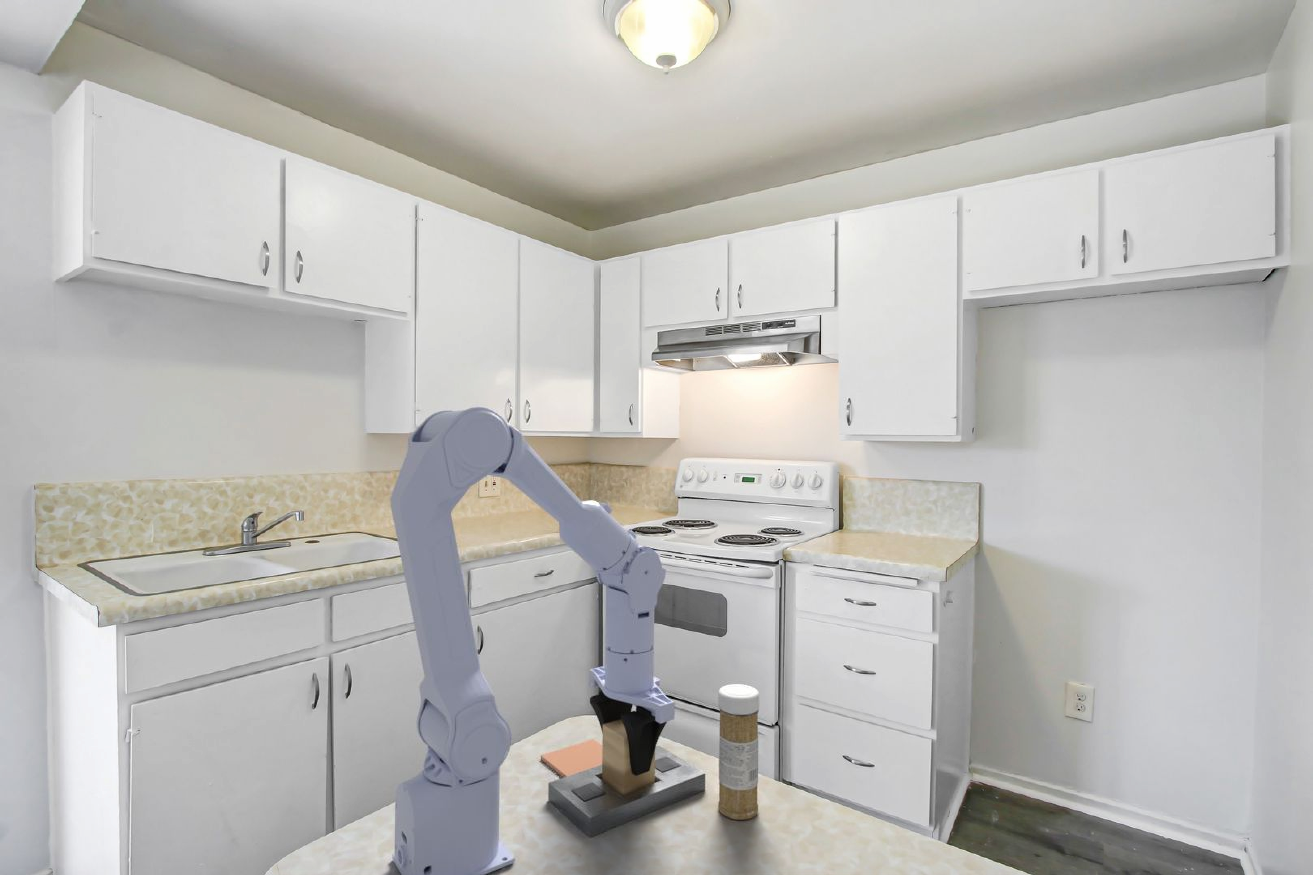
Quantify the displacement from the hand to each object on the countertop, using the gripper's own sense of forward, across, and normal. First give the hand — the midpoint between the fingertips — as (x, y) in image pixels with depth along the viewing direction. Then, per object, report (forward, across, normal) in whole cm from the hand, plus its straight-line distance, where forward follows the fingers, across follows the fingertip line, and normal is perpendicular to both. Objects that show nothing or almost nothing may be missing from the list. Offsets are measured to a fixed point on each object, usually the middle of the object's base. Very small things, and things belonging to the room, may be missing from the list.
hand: (628, 763), depth 77 cm
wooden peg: (+4, 0, 0) cm, 4 cm away
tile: (+4, +10, 0) cm, 11 cm away
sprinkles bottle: (+4, -10, -8) cm, 13 cm away
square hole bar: (+4, 0, 0) cm, 4 cm away
